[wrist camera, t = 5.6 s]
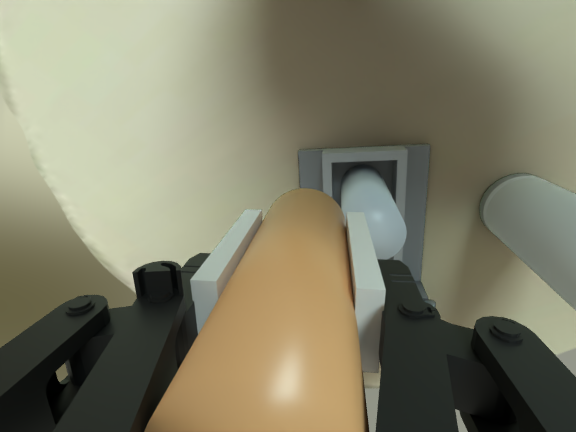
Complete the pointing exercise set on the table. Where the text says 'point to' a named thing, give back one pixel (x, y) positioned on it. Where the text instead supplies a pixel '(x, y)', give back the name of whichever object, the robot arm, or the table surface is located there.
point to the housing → (397, 176)
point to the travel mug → (536, 227)
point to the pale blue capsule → (374, 209)
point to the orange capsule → (277, 335)
